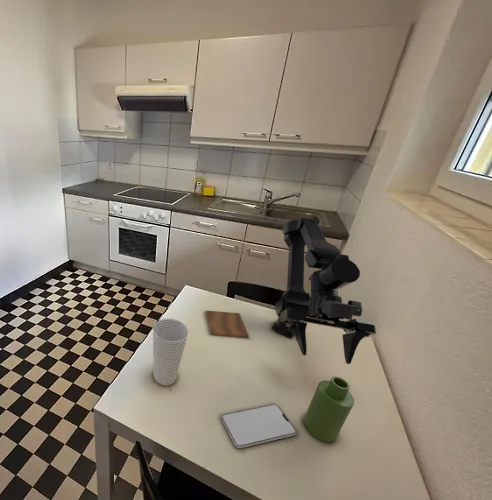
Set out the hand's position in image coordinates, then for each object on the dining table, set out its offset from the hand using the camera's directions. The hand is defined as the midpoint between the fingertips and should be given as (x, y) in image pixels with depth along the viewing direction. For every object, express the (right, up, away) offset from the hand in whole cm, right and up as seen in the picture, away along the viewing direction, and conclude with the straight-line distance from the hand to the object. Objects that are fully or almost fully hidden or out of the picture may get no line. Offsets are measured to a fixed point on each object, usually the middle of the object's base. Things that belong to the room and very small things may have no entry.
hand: (326, 359), depth 64 cm
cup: (-36, -8, +9) cm, 39 cm away
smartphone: (-17, -14, -2) cm, 22 cm away
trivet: (-14, 0, +31) cm, 34 cm away
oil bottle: (-2, -15, -1) cm, 15 cm away
